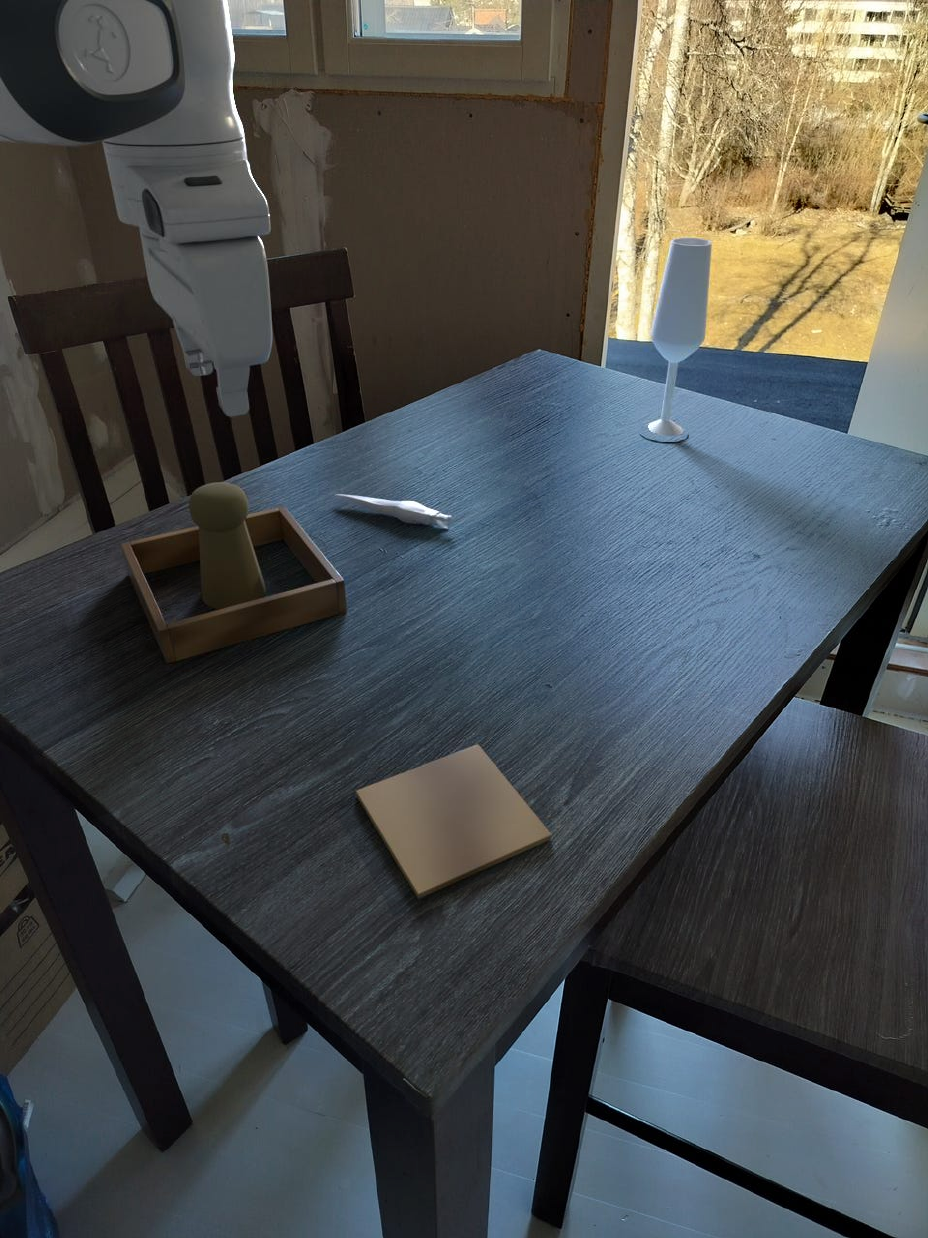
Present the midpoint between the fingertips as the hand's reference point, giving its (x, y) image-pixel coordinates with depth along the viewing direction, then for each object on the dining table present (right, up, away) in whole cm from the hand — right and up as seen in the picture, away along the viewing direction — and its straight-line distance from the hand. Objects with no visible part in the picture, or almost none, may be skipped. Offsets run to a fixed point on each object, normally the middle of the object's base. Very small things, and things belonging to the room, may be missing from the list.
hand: (216, 391), depth 64 cm
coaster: (+18, -31, -5) cm, 36 cm away
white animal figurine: (+11, -6, +31) cm, 33 cm away
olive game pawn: (-3, -15, +18) cm, 23 cm away
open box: (-3, -15, +18) cm, 23 cm away
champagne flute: (+46, +8, +50) cm, 68 cm away
